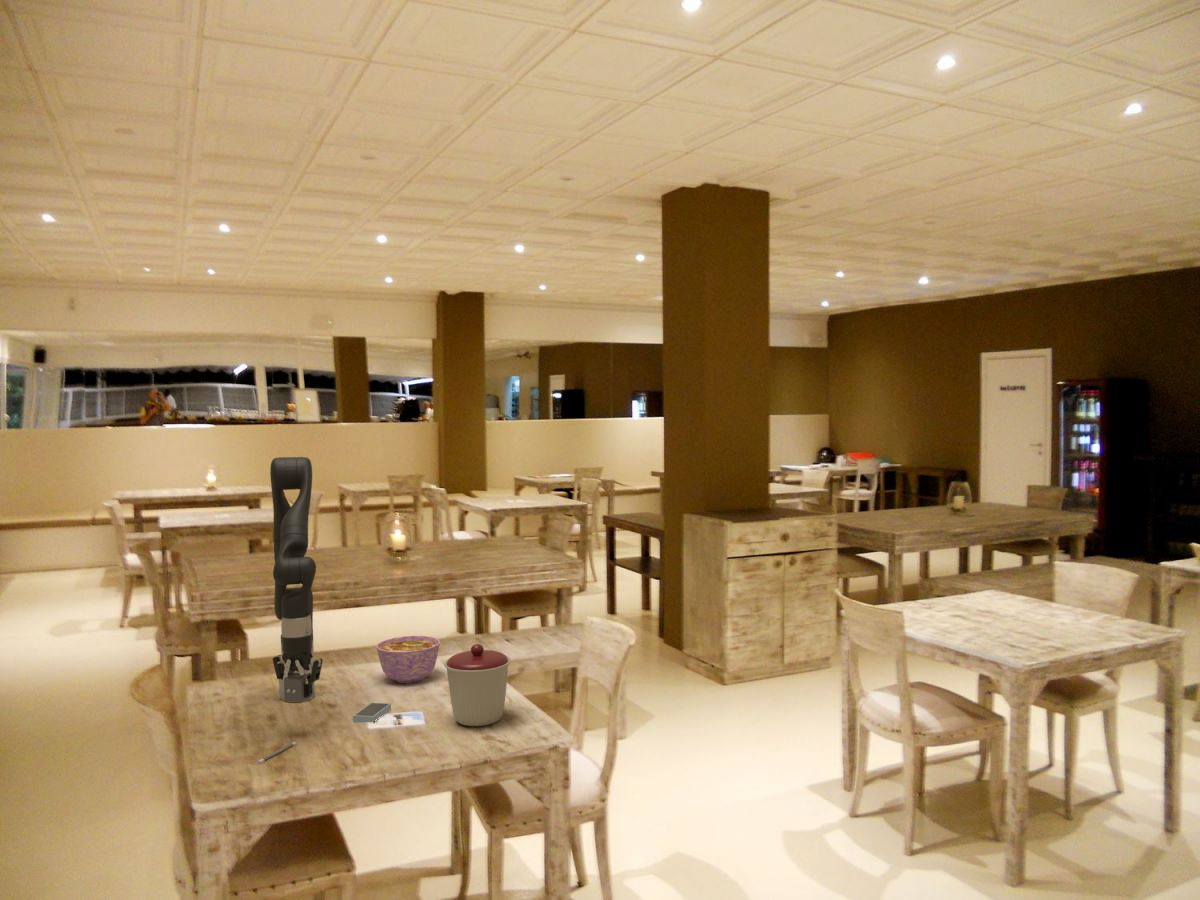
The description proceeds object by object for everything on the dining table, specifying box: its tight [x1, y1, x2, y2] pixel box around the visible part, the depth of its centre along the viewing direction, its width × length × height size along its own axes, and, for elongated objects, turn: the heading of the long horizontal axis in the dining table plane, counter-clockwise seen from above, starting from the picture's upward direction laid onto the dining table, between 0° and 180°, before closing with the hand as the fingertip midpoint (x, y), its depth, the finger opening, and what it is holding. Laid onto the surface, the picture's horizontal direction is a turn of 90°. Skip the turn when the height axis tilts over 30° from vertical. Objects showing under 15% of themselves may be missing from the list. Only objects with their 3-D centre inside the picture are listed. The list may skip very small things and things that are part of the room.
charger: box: [283, 673, 312, 703], centre depth 226 cm, size 5×6×6 cm
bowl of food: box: [376, 635, 441, 684], centre depth 274 cm, size 20×20×12 cm
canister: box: [443, 643, 512, 727], centre depth 235 cm, size 18×18×21 cm
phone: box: [352, 702, 392, 723], centre depth 241 cm, size 6×11×2 cm, turn 169°
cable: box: [258, 741, 297, 764], centre depth 214 cm, size 13×1×1 cm, turn 160°
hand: (298, 695), depth 226 cm, fingers closed on charger, 5 cm apart
